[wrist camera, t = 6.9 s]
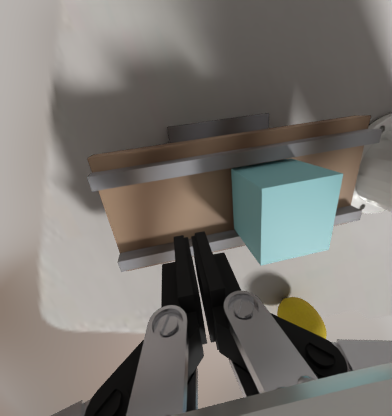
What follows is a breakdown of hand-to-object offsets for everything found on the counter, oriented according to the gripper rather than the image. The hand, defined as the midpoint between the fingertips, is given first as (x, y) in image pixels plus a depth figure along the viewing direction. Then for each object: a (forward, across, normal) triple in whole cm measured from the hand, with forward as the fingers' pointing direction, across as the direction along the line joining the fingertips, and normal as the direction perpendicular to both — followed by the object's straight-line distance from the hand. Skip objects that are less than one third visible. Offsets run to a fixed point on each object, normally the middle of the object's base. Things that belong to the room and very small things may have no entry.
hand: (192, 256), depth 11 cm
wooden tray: (+12, -5, 0) cm, 13 cm away
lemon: (+13, -14, +22) cm, 29 cm away
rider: (+6, -7, 0) cm, 9 cm away
